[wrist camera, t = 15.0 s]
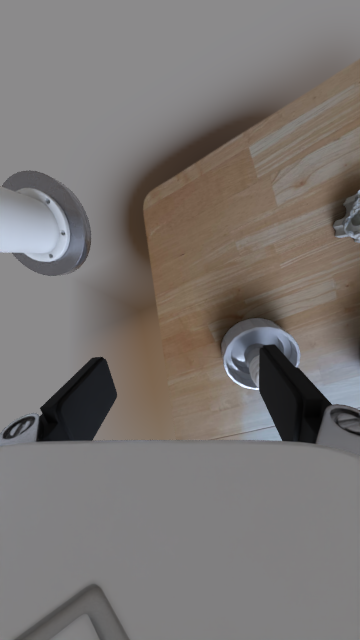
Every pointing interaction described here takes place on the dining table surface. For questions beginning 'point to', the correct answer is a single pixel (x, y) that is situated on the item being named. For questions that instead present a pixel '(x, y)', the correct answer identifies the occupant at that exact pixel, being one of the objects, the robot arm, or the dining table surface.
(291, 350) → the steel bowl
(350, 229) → the egg carton
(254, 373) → the light bulb
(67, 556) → the robot arm
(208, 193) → the dining table surface
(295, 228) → the dining table surface
